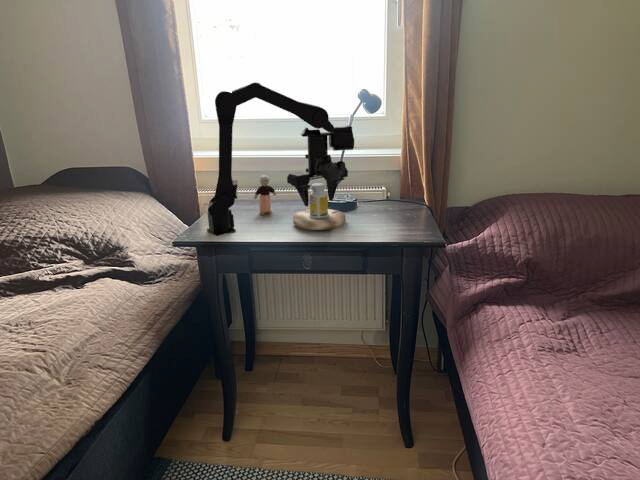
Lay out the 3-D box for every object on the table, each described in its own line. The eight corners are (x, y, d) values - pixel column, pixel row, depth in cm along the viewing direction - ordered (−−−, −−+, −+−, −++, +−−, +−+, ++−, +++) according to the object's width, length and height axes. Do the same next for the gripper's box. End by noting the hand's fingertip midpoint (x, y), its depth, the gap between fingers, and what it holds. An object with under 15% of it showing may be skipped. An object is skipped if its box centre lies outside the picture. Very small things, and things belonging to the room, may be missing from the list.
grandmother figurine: (260, 216, 149) (257, 178, 145) (253, 213, 152) (250, 176, 148) (279, 211, 154) (277, 174, 149) (273, 209, 157) (270, 172, 152)
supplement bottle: (328, 213, 142) (328, 182, 139) (327, 218, 137) (326, 186, 134) (311, 213, 143) (310, 182, 139) (309, 218, 138) (308, 186, 134)
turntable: (314, 236, 130) (314, 228, 129) (283, 223, 142) (282, 215, 141) (356, 224, 139) (356, 216, 138) (323, 212, 151) (323, 205, 150)
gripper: (308, 159, 122) (309, 215, 127) (360, 150, 132) (359, 203, 138) (285, 154, 130) (287, 207, 135) (335, 146, 140) (336, 195, 146)
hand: (318, 203), depth 138 cm, fingers open, 9 cm apart
